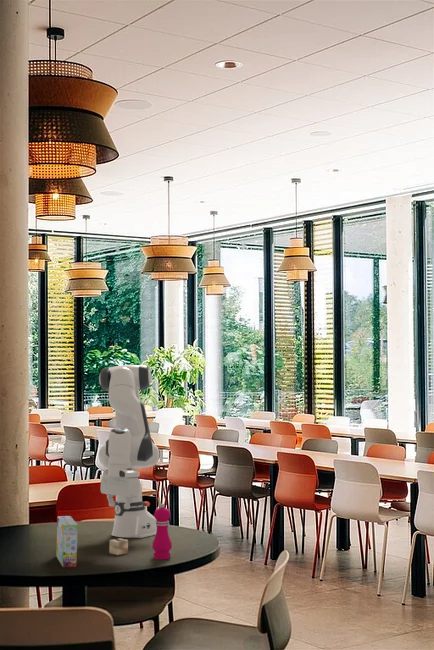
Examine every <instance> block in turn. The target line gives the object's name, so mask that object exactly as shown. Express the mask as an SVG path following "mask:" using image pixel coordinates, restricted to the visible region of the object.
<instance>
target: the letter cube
mask: <svg viewBox="0 0 434 650" xmlns="http://www.w3.org/2000/svg"><path fill="white" fill-rule="evenodd" d="M108 548H109V551H108V552H109V554H112V555H116V556H119V555H125V554H128V553H129V540H128V539H124V538H122V537H118V538H113V539H109V547H108Z"/></svg>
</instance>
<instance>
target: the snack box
mask: <svg viewBox="0 0 434 650" xmlns="http://www.w3.org/2000/svg"><path fill="white" fill-rule="evenodd" d="M78 532H79V524H78V523H77V522H76V521H75V520H74V519H73V517H72V516H71V515H65V516H64V515H61V516H60V515H59V516H57V519H56V550H55V551H56V553H55V554H56V555H55V556H56V558H57V560H58V561H59V563H60V565H61V567H62V568H76V567H77V561H78V560H77V559H78V557H77V555H78V536H79V533H78Z"/></svg>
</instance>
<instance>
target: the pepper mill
mask: <svg viewBox="0 0 434 650" xmlns="http://www.w3.org/2000/svg"><path fill="white" fill-rule="evenodd" d="M165 506H166V505H165V503H160V505H159V507H158V508H156V509H155V511H154V513H153V516H154V517H155V519H156V520H157V521H156V525H157V532H156V535H154V538H153V541H152V545H151V547H152V550H153V551H154V552H153V559H155V560H168V559H170V558H171V552H170V550H171V549H172V546H173V544H172V540H171V538H170V535H169V532H168V531H169V529H168V528H169V526H170V523H169V522H170V521H169V520H170V518H171V511H170V509H168V508H167V507H165Z"/></svg>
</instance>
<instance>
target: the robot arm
mask: <svg viewBox="0 0 434 650" xmlns="http://www.w3.org/2000/svg"><path fill="white" fill-rule="evenodd" d="M98 380H99V381H98V383H99V385H100V387H101V389H102V390H103V391H105V392H108V402H109V405H110V407H111V408H112V410H114V412H115V413H114V414H115V427H114V428H113V429H111V430H110V432H109V437H108V439H107V440H106V441H105V444H103V445H102V446H101V447H100V449H99V450H98V451H99V452H98V460H99V462H100V464H101V466H102V467H104V468H105V469H104V471H103V472H102V476H101V480H100V487H99V488H100V493H101V494H103V495H104V494H105V495H106V499H107V501H108V506H109V507H114V520H113V522H114V523H113V527H112V531H111V536H114V537H118V538H139V539H140V538H146V537H148V538H149V537H151V536H156V532H157V525H156V521H157V520H156V519H155V517H154V514H151V513H150V512H149V511H148V510H146V508H147V507H149V506H150V502H149V501H144V500H143V484H142V482H141V480H140V479H139V478H140V474H141V473H140V471H139V470H137V469H142V468H143V469H145V468H149V467H151V468H152V467H154V466H156V465H157V463H158V462H159V459H160V456H161V455H160V449H159V448H158V446H157V445H156V444H155V442H153V440H152V437H151V436H152V435H151V432H150V428H149V426H150V425H149V422H148V417H147V413H146V408H145V404H144V402H142V401H141V396H140V392H141V394H143V393H144V391H145V390H147V389H148V388H149V387H150V386H151V381H152V372H151V370H150V368H149V366H147V365H144V364H138V365H137V364H124V365H116V366H115V365H114V366H107V367H103V368H102V369H101V370H100V373H99V376H98ZM114 496H115V501H114Z"/></svg>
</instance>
